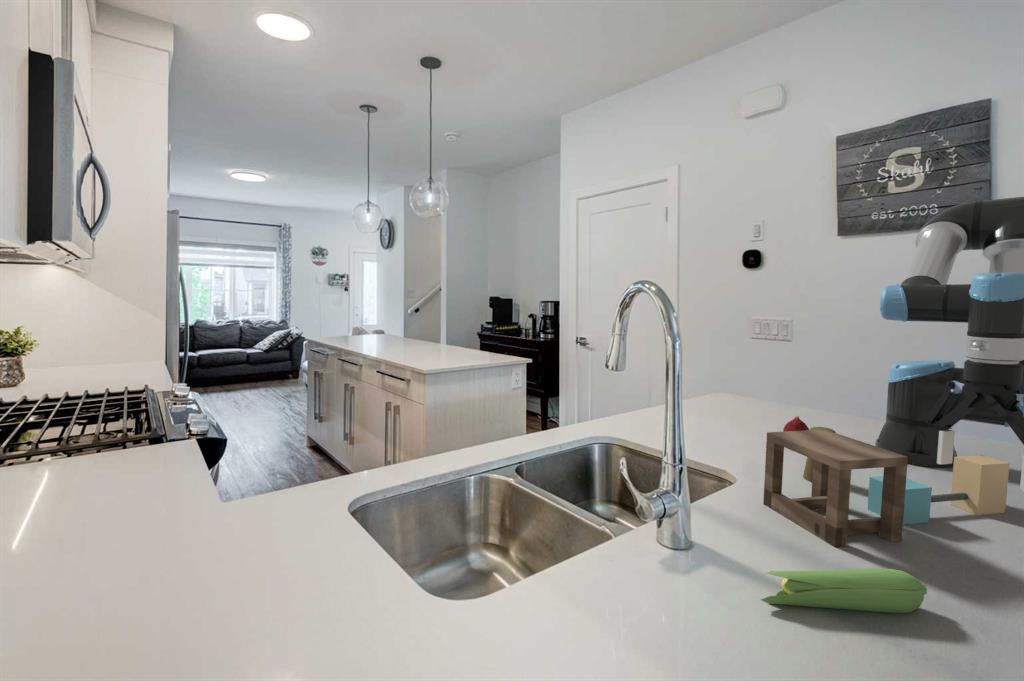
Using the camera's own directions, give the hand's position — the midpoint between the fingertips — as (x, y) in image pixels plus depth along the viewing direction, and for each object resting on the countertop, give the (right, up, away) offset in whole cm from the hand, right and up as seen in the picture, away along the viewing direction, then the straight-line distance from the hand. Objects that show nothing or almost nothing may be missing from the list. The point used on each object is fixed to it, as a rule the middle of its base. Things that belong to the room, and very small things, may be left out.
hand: (983, 476), depth 89 cm
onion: (-13, -3, +36) cm, 39 cm away
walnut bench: (-32, -6, -6) cm, 33 cm away
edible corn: (-45, -8, -28) cm, 54 cm away
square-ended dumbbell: (-10, -6, -2) cm, 12 cm away
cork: (-21, -5, +14) cm, 26 cm away
